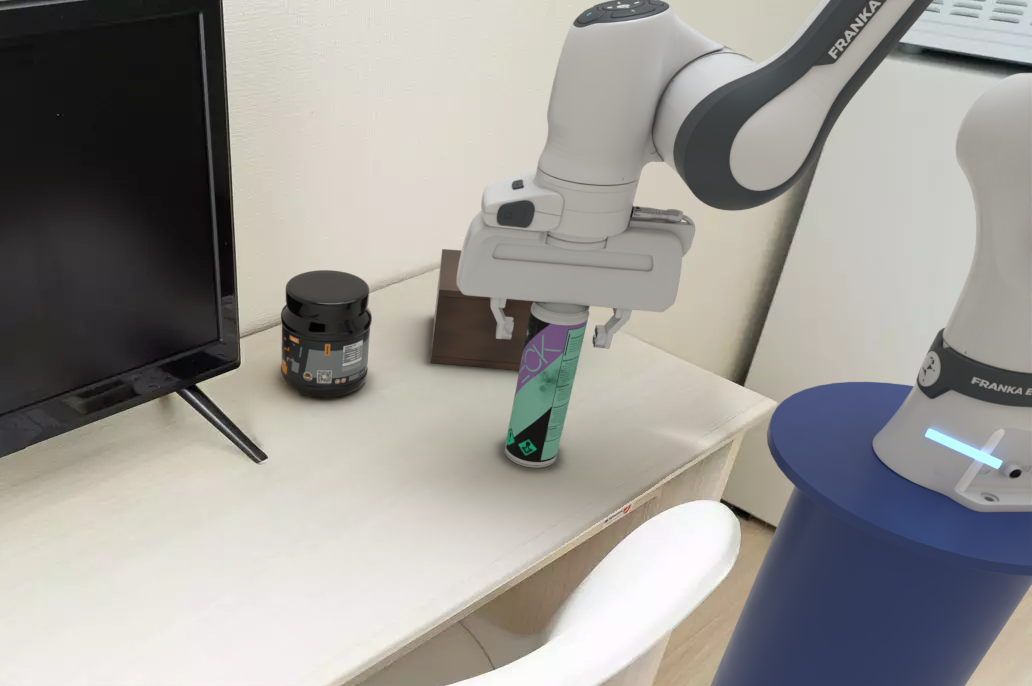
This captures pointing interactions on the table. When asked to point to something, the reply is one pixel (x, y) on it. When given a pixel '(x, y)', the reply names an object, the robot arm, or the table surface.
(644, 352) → the table surface
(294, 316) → the supplement container
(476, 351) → the cabinet
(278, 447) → the table surface
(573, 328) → the spray can
